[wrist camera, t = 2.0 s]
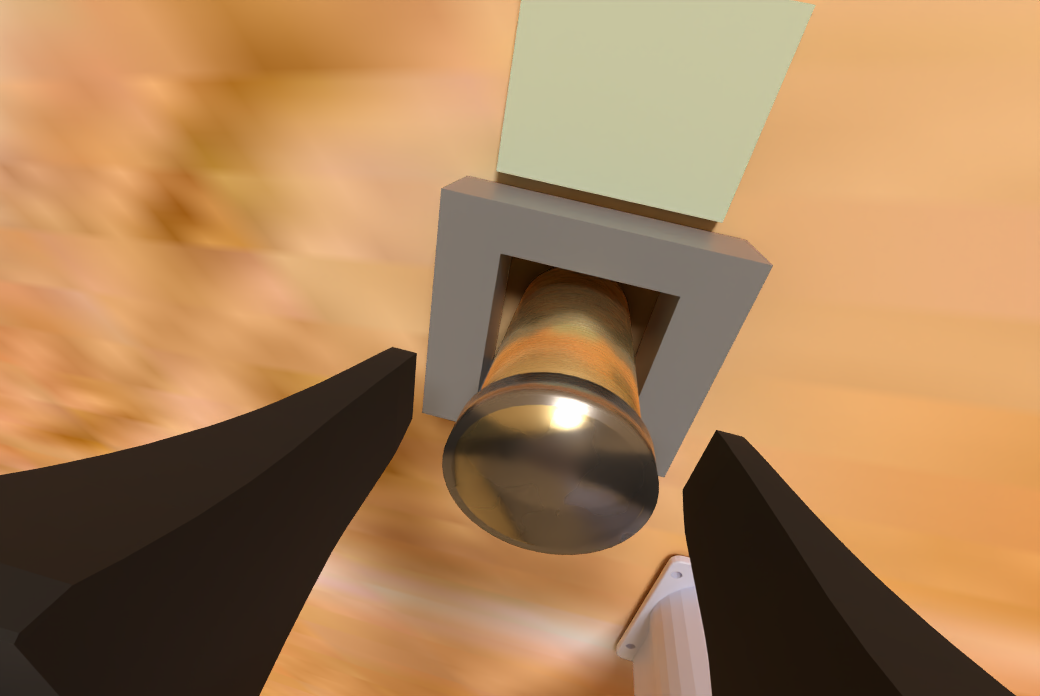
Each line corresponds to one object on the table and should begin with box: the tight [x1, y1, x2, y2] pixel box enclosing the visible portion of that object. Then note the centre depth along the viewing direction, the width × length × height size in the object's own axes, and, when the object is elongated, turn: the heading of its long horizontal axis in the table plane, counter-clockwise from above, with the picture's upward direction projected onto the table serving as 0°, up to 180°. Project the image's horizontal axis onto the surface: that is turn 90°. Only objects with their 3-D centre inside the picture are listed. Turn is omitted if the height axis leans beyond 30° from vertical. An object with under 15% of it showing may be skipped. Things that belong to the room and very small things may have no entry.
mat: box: [496, 0, 815, 223], centre depth 12 cm, size 5×7×1 cm
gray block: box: [422, 176, 773, 477], centre depth 14 cm, size 8×9×2 cm
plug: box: [442, 267, 659, 555], centre depth 12 cm, size 4×4×8 cm
